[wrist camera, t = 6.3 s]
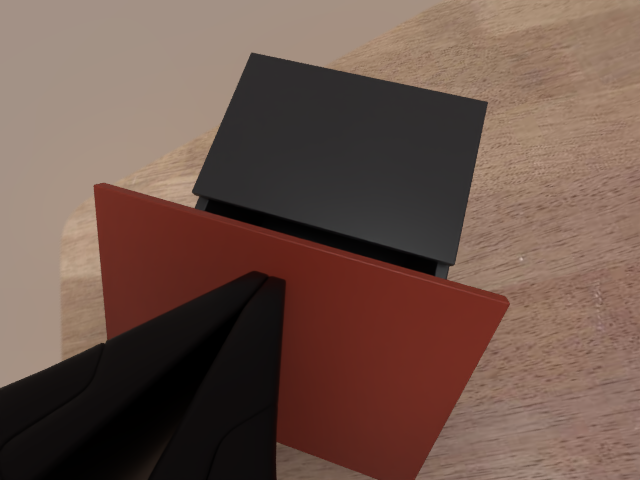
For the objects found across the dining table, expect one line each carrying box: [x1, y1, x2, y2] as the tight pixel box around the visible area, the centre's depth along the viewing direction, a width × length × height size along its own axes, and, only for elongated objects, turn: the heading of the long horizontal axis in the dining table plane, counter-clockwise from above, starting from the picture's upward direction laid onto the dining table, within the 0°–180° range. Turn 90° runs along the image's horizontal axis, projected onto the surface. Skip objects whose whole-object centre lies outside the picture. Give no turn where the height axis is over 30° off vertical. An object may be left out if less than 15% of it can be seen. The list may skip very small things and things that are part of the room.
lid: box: [94, 183, 510, 480], centre depth 9 cm, size 7×11×1 cm
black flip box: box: [192, 53, 488, 280], centre depth 17 cm, size 15×11×9 cm
